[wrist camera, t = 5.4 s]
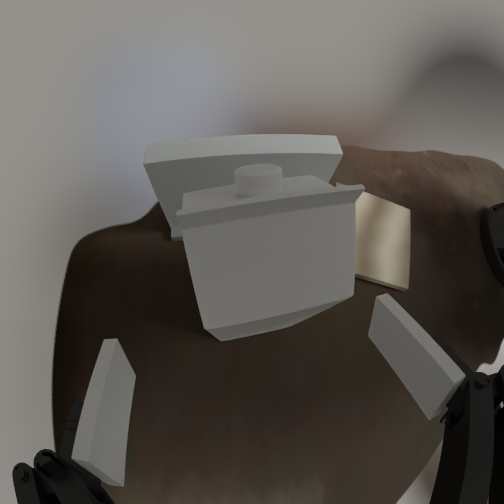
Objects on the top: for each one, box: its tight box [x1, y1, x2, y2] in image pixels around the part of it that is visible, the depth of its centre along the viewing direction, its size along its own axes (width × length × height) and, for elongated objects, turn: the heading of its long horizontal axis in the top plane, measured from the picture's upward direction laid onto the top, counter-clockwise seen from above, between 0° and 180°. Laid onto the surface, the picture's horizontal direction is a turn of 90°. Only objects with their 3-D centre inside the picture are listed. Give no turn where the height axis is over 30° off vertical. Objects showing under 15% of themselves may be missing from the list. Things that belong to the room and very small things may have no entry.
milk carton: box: [176, 164, 365, 341], centre depth 18 cm, size 7×7×19 cm
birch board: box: [334, 182, 410, 291], centre depth 30 cm, size 11×11×1 cm
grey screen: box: [143, 134, 343, 241], centre depth 25 cm, size 15×4×12 cm, turn 96°
